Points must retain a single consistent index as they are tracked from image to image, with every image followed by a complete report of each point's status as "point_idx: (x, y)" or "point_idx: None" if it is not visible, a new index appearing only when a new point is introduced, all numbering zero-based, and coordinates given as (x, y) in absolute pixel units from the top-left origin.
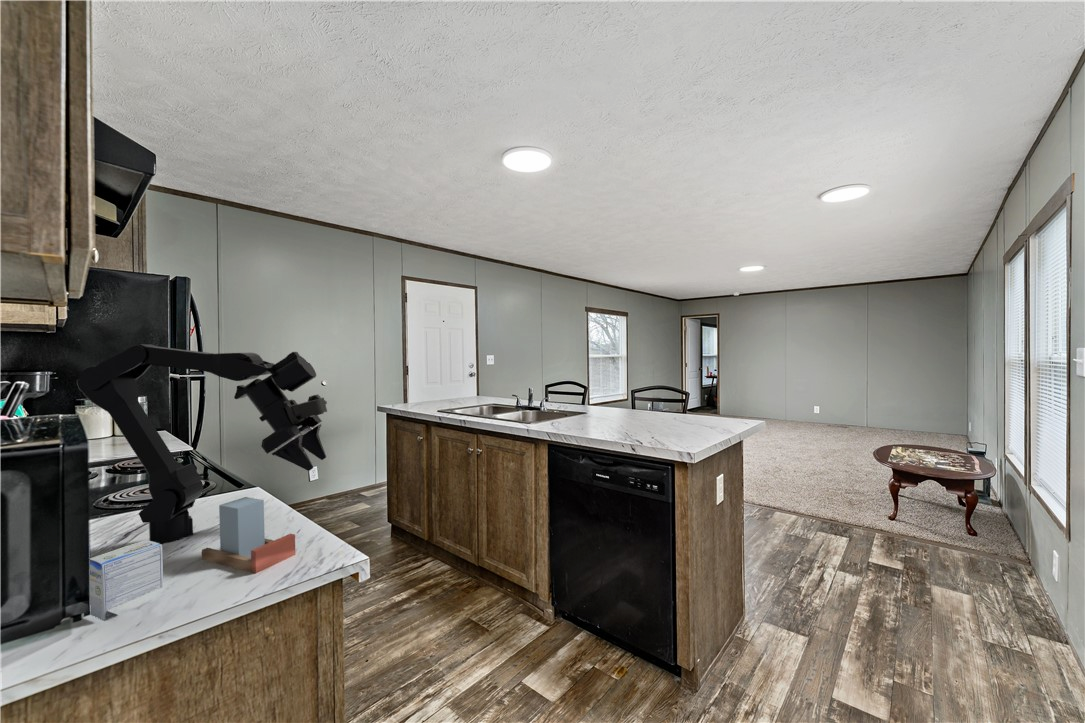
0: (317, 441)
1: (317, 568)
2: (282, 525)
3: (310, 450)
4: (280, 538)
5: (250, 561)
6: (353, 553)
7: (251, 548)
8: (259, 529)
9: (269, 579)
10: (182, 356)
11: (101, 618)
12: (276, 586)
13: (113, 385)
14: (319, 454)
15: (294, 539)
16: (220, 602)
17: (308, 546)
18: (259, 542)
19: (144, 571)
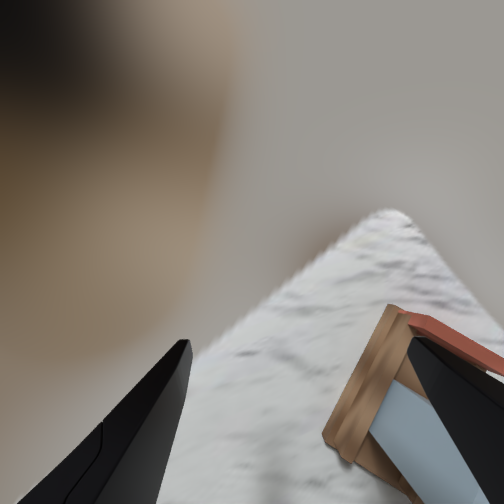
0: (126, 461)
1: (418, 263)
2: (208, 402)
3: (164, 464)
4: (450, 340)
5: (484, 371)
6: (366, 220)
7: (423, 398)
8: (432, 406)
9: (453, 328)
10: None
11: None
12: (476, 307)
13: None
14: (181, 382)
15: (422, 315)
16: None
17: (327, 307)
18: (411, 391)
19: None
